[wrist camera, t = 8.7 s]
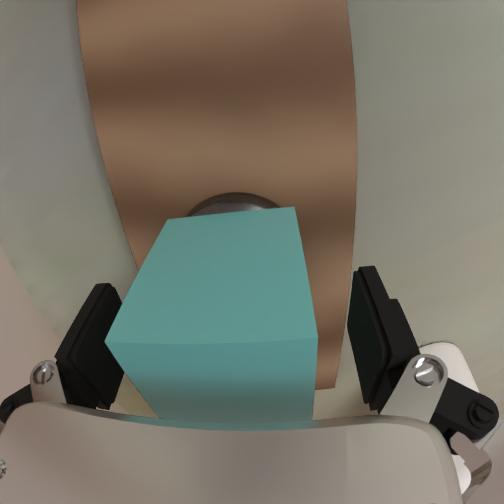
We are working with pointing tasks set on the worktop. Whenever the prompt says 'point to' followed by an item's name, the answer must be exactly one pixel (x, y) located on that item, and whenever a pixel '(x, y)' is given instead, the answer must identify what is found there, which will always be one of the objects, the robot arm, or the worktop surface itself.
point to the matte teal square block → (222, 321)
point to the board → (231, 123)
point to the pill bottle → (463, 376)
